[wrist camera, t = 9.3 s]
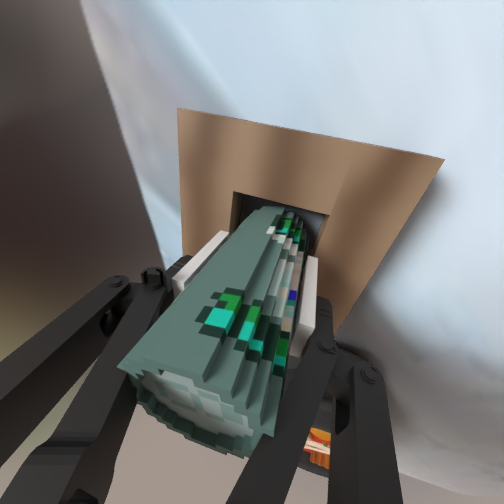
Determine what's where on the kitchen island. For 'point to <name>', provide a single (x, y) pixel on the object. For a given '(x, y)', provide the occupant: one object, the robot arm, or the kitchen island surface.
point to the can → (226, 339)
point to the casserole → (318, 425)
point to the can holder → (300, 192)
